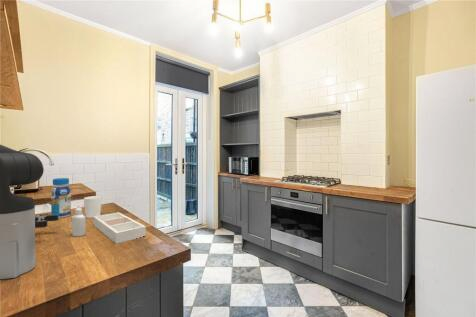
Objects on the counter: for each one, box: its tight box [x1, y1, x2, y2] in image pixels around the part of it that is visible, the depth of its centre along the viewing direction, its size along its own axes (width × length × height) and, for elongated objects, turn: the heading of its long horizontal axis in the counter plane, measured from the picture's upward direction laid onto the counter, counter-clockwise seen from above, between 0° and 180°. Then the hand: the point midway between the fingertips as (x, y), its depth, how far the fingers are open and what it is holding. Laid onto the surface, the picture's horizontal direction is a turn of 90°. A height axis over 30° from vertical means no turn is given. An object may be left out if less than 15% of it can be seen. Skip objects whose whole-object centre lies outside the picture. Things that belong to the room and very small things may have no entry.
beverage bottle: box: [50, 177, 72, 219], centre depth 119 cm, size 8×8×20 cm
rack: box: [92, 212, 147, 245], centre depth 98 cm, size 31×11×4 cm, turn 46°
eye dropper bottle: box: [71, 205, 87, 237], centre depth 92 cm, size 4×6×12 cm
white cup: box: [83, 195, 102, 219], centre depth 120 cm, size 8×8×10 cm
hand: (52, 220), depth 89 cm, fingers open, 8 cm apart
